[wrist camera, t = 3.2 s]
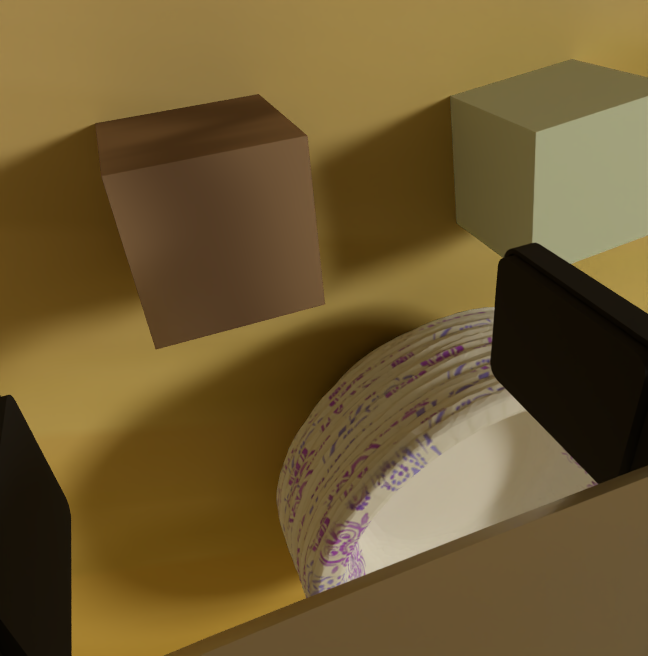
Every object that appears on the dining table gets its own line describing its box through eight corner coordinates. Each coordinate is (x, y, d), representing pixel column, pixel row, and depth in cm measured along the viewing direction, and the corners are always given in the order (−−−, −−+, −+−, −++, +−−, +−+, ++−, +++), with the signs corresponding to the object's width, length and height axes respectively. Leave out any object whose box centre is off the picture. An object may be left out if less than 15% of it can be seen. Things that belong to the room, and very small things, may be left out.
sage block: (570, 58, 22) (680, 85, 18) (562, 185, 25) (655, 232, 21) (448, 95, 21) (536, 131, 17) (455, 222, 24) (531, 278, 20)
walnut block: (258, 93, 19) (307, 135, 15) (279, 237, 22) (325, 304, 18) (94, 122, 18) (101, 176, 14) (140, 270, 21) (155, 349, 17)
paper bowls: (542, 453, 35) (646, 568, 28) (297, 563, 32) (352, 714, 26) (549, 220, 26) (705, 312, 19) (210, 347, 23) (261, 500, 17)
